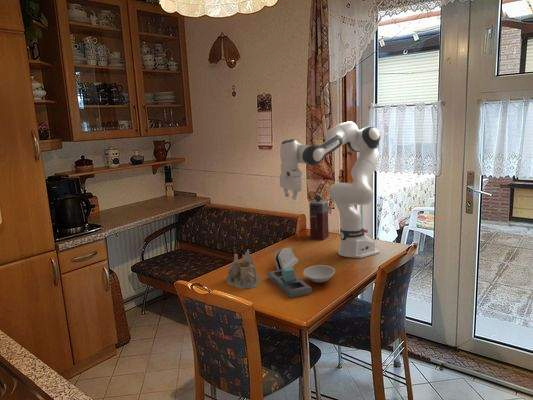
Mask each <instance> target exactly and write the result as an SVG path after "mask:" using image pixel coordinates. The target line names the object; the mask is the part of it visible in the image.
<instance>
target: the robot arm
mask: <svg viewBox="0 0 533 400" xmlns="http://www.w3.org/2000/svg"><path fill="white" fill-rule="evenodd" d="M380 141H381V131H380V130H379V128H378V127H377V126H375V125H369V126H366V127H363V128H361V129H359V127H358V126H357V124H356V123H355V122H353V121H352V120H351V121H350V120H349V121H346V122H341V123H339V124H337V125H335V126H333V127H330V128H329V129H328V130H327V131H326V134H325V141H324V142H323V143H321V144H313V145H309V144H308V145H307V144H303V143H301V142H298V141H297V140H296V139H294V138H293V139H286V140H282V142H281V144H280V146H279V147H280V150H279V155H280V162H281V163H280V174H279V186H280V187H279V188H281V189H283V192H284V197H285V198H288V197H290V193H289V191H291V192H292V196H291V200H294V201H295V200H297V198H298V197H297V196H298V192H301V191H302V189H303V182H302V181H303V179H302V176H303V172H302V171H301V170H300V168H299V164H303V165H310V166H317V165H319V164H321V163H322V161H323V160H324V159H325V158H326V156H328V155H330V154H332V153H333V152H334V151H336V150H337V149H339V148H340V147H342V146H343V145H345V144H346V145H347V147H348V149H349V150H350V151H351V152H352V153H353V152H354V153H359V156H358V158H356V159H357V160H355V163H354V165H353V166H352V168H351V170H350V175H351V178H352V179H353V182H352V183H351V182H336V183H333V184H332V185H331V186H330V187H329V192H328V193H329V198H330V199H331V200H332V201H333V202H334V203H335V205H336V207H337V209H338V211H339V215H340V216H339V218H340V229H339V236H340V244H339V249H338V254H339V256H340V257H341V256H342V257H345V258H357V259H363V258H366V257H370V256H372V255H377V254H380V250H379V249H378V247H376V245H375V242H374V240H373V239H372V238H370V237H369V236H367V235H366V234H367V233H368V232H369V230H368V228H363V227H362V214H361V212H360V211H358V210H357V209H356V207H355V205H358V206H365V205H369V204H370V203H371V202H372V201H373V199H374V191H373V188H372V186H370V185H371V184H370V181H371V178H372V176H373V173H374V172H375V170H376V168H377V166H378V162H379V160H380V152H379V150H378V149H377V148H378V147H379V146H380Z"/></svg>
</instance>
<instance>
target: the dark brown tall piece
mask: <svg viewBox="0 0 533 400" xmlns="http://www.w3.org/2000/svg"><path fill="white" fill-rule="evenodd" d="M328 203H329V202H328V200H323V195H322V194H321V193H317V194H315V195H314V200H313V201H310V202H309V203H308V204H309V230H310V231H309V233H310V236H309V237H310V240H315V241H316V240H318V241H324V240H326V239H328V238H329V236H330V235H329V208H328V207H329V204H328Z"/></svg>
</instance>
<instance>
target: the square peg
mask: <svg viewBox="0 0 533 400" xmlns="http://www.w3.org/2000/svg"><path fill="white" fill-rule="evenodd" d="M281 270H282V281H284V282H285V283H286V282H291V281H295V275H296V272H295V271H296V270H295V269H294V268H293V267H291V266H290V267H285V268H282V269H281Z"/></svg>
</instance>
